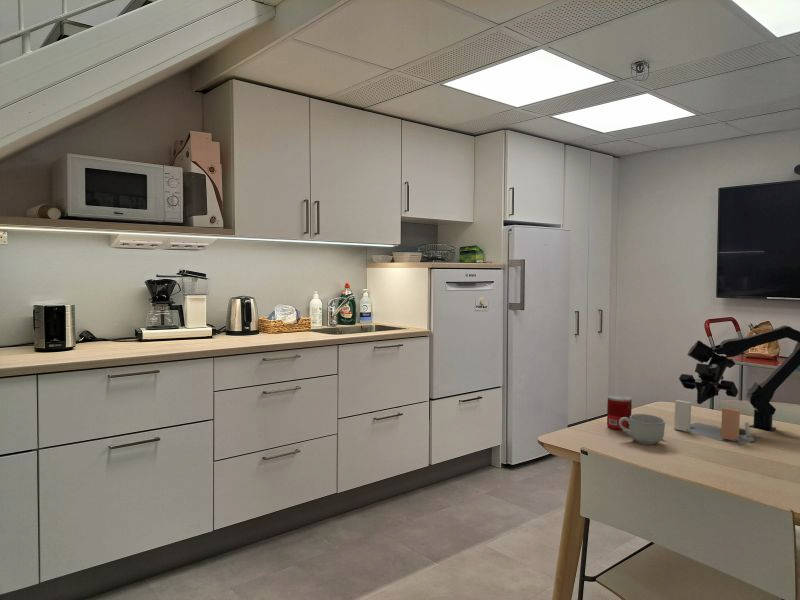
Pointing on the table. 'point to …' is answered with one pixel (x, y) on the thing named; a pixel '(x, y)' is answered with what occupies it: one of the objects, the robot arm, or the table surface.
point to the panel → (716, 433)
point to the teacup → (645, 428)
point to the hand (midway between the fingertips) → (698, 403)
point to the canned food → (618, 411)
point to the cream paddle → (682, 415)
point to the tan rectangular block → (730, 424)
